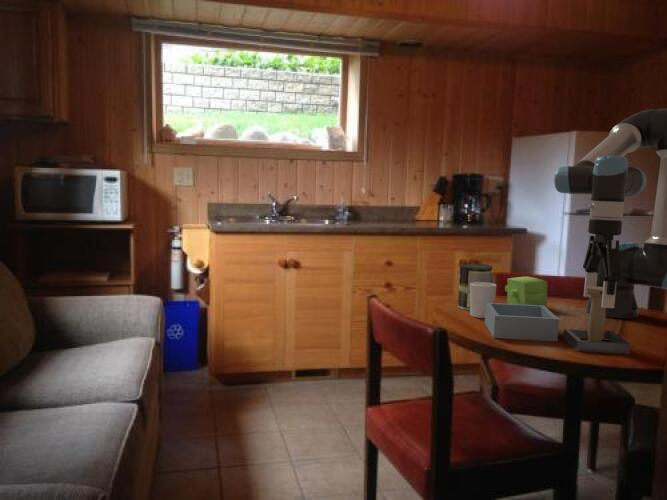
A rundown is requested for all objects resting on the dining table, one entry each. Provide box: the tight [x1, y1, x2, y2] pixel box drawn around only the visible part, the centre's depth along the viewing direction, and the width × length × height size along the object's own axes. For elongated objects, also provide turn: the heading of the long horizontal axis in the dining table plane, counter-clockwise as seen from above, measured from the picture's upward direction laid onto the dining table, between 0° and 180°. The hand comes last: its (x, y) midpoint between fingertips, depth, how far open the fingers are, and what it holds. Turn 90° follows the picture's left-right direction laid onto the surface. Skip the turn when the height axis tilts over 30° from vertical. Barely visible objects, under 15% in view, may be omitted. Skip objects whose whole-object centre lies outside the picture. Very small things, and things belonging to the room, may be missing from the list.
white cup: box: [469, 282, 497, 319], centre depth 175 cm, size 8×8×10 cm
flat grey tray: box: [562, 328, 632, 355], centre depth 146 cm, size 12×12×2 cm
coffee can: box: [457, 262, 493, 312], centre depth 185 cm, size 10×10×14 cm
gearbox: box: [504, 276, 548, 309], centre depth 190 cm, size 18×10×10 cm, turn 15°
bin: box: [484, 302, 560, 342], centre depth 157 cm, size 16×16×6 cm
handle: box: [586, 286, 607, 341], centre depth 145 cm, size 5×6×15 cm
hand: (598, 302), depth 144 cm, fingers open, 13 cm apart
